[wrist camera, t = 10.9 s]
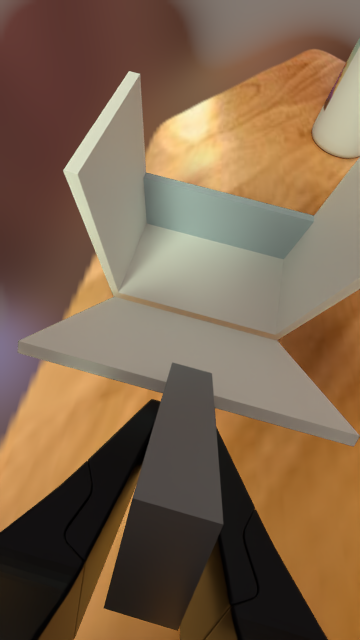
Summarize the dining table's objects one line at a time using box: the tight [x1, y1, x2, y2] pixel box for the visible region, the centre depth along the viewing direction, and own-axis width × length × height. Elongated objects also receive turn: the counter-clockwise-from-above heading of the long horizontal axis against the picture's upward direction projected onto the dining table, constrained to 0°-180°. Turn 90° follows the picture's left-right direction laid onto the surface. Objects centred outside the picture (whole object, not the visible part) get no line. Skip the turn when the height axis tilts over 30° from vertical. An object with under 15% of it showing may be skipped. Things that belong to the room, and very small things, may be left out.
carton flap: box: [18, 297, 360, 631], centre depth 11 cm, size 3×13×15 cm
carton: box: [63, 72, 360, 341], centre depth 16 cm, size 8×14×12 cm, turn 75°
